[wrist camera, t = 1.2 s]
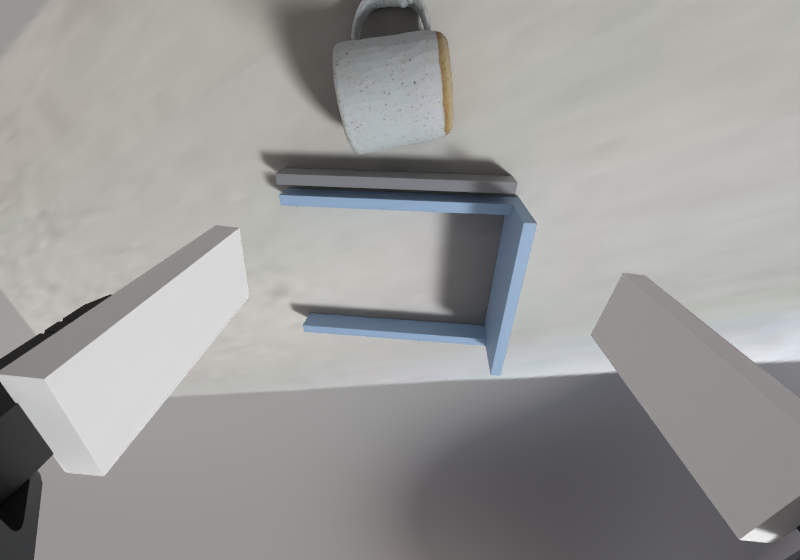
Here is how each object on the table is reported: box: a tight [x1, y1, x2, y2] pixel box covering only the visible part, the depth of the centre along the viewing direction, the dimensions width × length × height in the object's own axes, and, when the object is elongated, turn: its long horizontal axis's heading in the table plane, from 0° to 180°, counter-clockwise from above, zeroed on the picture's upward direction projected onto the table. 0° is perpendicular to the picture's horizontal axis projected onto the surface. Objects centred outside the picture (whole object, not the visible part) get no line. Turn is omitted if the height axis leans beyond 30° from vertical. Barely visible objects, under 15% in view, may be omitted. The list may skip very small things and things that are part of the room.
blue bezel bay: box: [279, 188, 537, 376], centre depth 34 cm, size 23×17×7 cm
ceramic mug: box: [332, 0, 453, 154], centre depth 24 cm, size 11×8×8 cm
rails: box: [275, 168, 517, 194], centre depth 27 cm, size 22×17×2 cm
